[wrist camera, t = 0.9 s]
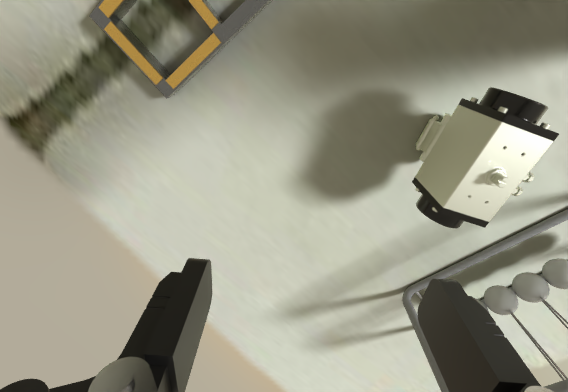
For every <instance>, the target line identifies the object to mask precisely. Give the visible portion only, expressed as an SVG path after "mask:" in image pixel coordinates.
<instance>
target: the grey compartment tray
mask: <svg viewBox="0 0 568 392" xmlns="http://www.w3.org/2000/svg"><path fill="white" fill-rule="evenodd" d="M136 1H137V0H101V2H100V3H99V4H98V5H97V7H96V8H95V9H94V10H93V12H92V13H91V14H90V15H89V16H90V17H91V18H92V19H93V20H94V21H95V23H96V24H97V25H98V26H99V27H100V28H101V29H102V30H103V31H104V32H105V33H106V34H107V35H108V36H109V37H110V39H111V40H112V41H113V42H114V43H115V44H116V45H117V46H118V47H119V48H120V49H121V50H122V51H123V52H124V53H125V54H126V56H127V57H128V58H129V59H130V60H131V61H132V62H133V63H134V64H135V65H136V66H137V67H138V68H139V69H140V70H141V71H142V73H143V74H144V75H145V76H146V77H147V78H148V79H149V80H150V81H151V82H152V83H153V84H154V85H155V86H156V87H157V88H158V90H159V91H160V92H161V93H162V94H163V95H164V96H165V97H166V98H169V97H171V96H173V95H174V94H175V93H177V92H178V91H179V90H180V89H181V88H182V87H183V86H184V85H185V84H186V83H187V82H188V81H189V80H190V79H191V78H192V77H193V76H194V75H195V74H196V73H197V72H198V71H199V70H200V69H202V68H203V67H204V66H205V65H206V64H207V63H208V62H209V61H210V60H211V59H212V58H213V57H214V56H215V55H216V54H217V53H218V52H219V51H220V50H221V49H222V48H223V47H224V46H225V45H226V44H228V43H229V42H230V41H231V40H232V39H233V38H234V37H235V36H236V35H237V34H238V33H239V32H240V31H241V30H242V29H243V28H244V27H245V26H246V25H247V24H248V23H249V22H250V21H251V20H253V19H254V18H255V17H256V16H257V15H258V14H259V13H260V12H261V11H262V10H263V9H264V8H265V7H266V6H267V5H268V4H269V3H270V2H271V1H272V0H245V1H244V2H243V3H242V4H241V5H240V6H239V7H238V8H237V9H236V10H235V11H234V12H233V13H232V14H231V15H230V16H229V17H228V18H227V19H226V20H225V21H224V22H223V21H222V20H221V19H220V17H219V16H218V15H217V13H216V12H215V11H214V10H213V8H212V7H211V6H210V4H209V3H208V2H207V0H188V1H189V2H190V3H191V5H192V6H193V7H194V8H195V10H196V11H197V12H198V14H199V15H200V16H201V17H202V19H203V20H204V21H205V22H206V24H207V25H208V26H209V27H210V29H211V30H212V31H213V33H212V34H211V35H210V36H209V37H208V38H207V39H206V40H205V41H204V42H203V43H202V44H201V45H200V46H199V47H198V48H197V49H196V50H195V51H194V52H193V53H192V54H191V55H190V56H189V57H188V58H187V59H186V60H185V61H184V62H183V63H182V64H181V65H180V66H179V67H178V68H177V69H176V70H175V71H174V72H173V73H172V74H171V75H170V74H169V73H168V72H167V70H166V69H165V68H164V67H163V66H162V65H161V64H160V63H159V62H158V60H157V59H156V58H155V57H154V56H153V55H152V54H151V53H150V52H149V50H148V49H147V48H146V47H145V46H144V45H143V44H142V43H141V42H140V40H139V39H138V38H137V37H136V36H135V35H134V34H133V33H132V32H131V31H130V29H129V28H128V27H127V26H126V25H125V24H124V23H123V22H122V21H121V19H122V18H123V16H124V15H125V14H126V13H127V12H128V11H129V9H130V8H131V7H132V6H133V5H134V4H135V2H136Z"/></svg>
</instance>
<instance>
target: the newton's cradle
mask: <svg viewBox="0 0 568 392" xmlns="http://www.w3.org/2000/svg"><path fill="white" fill-rule="evenodd" d="M566 220H568V209H566V210H564V211H562V212H560V213H558V214H556V215H554V216H552V217H550V218H548V219H546V220H544V221H542V222H540V223H538V224H536V225H534V226H532V227H529V228H527V229H525V230H523V231H521V232H519V233H517V234H515V235H513V236H511V237H509V238H507V239H505V240H503V241H501V242H499V243H497V244H495V245H493V246H491V247H489V248H487V249H485V250H483V251H480V252H478V253H476V254H474V255H472V256H470V257H468V258H466V259H464V260H462V261H460V262H458V263H456V264H454V265H452V266H450V267H448V268H446V269H444V270H442V271H440V272H438V273H436V274H434V275H432V276H429V277H427V278H425V279H423V280H421V281H419V282H417V283H415V284H413V285H411V286H410V287H408V288H407V289H406V291H405V292H404V294H403V304H404V307H405V309H406V311H407V314H408V316H409V318H410V320H411V323H412V325H413V327H414V330H415V332H416V334H417V337H418V339H419V341H420V343H421V346H422V348H423V350H424V353H425V355H426V357H427V359H428V362H429V364H430V366H431V369H432V371H433V373H434V376H435V378H436V380H437V382H438V385H439V387H440V389H441V392H449V390H448V388H447V386H446V383H445V381H444V379H443V377H442V374H441V372H440V370H439V368H438V365H437V363H436V361H435V359H434V356H433V354H432V352H431V350H430V347H429V345H428V343H427V341H426V338H425V336H424V334H423V332H422V329H421V327H420V325H419V321H418V316H417V313H416V311H415V309H414V307H413V305H412V303H411V297H412V295H413V294H414V293H416V294H417V295H418V296H419V298H420V299H421V300H422V298H423V297H422V296H421V295H420V293H419V292H418V291H420V290H422V289H424V288H426V287H428V285H429V282H430V281H431V280H432V279H445V278H447V277H449V276H451V275H453V274H455V273H457V272H460V271H462V270H464V269H466V268H468V267H470V266H472V265H474V264H476V263H478V262H480V261H482V260H485V259H487V258H489V257H491V256H493V255H495V254H497V253H499V252H501V251H503V250H505V249H508V248H510V247H512V246H514V245H516V244H518V243H520V242H522V241H524V240H526V239H528V238H530V237H533V236H535V235H537V234H539V233H541V232H543V231H545V230H547V229H549V228H551V227H553V226H555V225H558V224H560V223H562V222H564V221H566ZM546 281H547V282H548V283H549V284H551V285H552V286H554V287H557V288H560V289H568V260H565V259H552V260H550V261H548V262H546V263H545V264H544V266H543V268H542V273H541V274H539V275H537V274H534V273H528V272H526V273H521V274H518V275H517V276H516V277H515V278H514V279H513V282H512V287H510V288H507V287H504V286H499V285H497V286H492V287H489V288H488V289H487V290H486V291H485V293H484V299H482V300H478V299H475V298H474V299H475V300H476V301H477V302H479V303H480V304H481V305H482V306H483V307H484V308H485V309H486V310H487V311H488V309H487V307H488V308H489V309H490V310H491V311H493V312H495V313H497V314H500V315H509V314H511V315H512V316H513V317H514V319H515V320H516V321H517V322H518V324H519V325H520V326H521V328H522V329H523V330H524V331H525V333H526V334H527V335H528V336H529V338H530V339H531V340H532V342H533V343H534V344H535V345H536V347H537V348H538V349H539V350H540V352H541V353H542V354H543V355H544V357H545V358H546V359H547V361H548V362H549V363H550V364H551V366H552V367H553V368H554V369H555V371H556V372H557V373H558V374H559V372H558V371H557V370H556V368H555V367H554V366H553V365H552V363H553V364H554V365H555V366H556V367H557V369H558V370H559V371H560V372H561V374H562V375H563V376H564V377H565V378H566V380H564V379H563V377H562V376H561V375H560V374H559V376H560V377H561V378H562V380H563V381H560V382H557V383H554V384H551V385H548V386H545V388H547V389H550V390H552V391H554V392H568V378H567V377H566V376H565V375H564V373H563V372H562V371H561V370H560V369H559V367H558V366H557V365H556V364H555V363H554V362H553V360H552V359H551V358H550V357H549V356H548V354H547V353H546V352H545V351H544V350H543V349H542V347H541V346H540V345H539V344H538V343H537V341H536V340H535V339H534V338H533V337H532V336H531V334H530V333H529V332H528V331H527V330H526V328H525V327H524V326H523V325H522V324H521V323H520V321H519V320H518V319H517V318H516V317H515V315H514V314H513V312H515V311H516V309H517V308H518V299H517V296H518V297H520V298H521V299H523V300H525V301H528V302H541V301H542V302H543V303H544V304H545V305H546V306H547V307H548V308H549V309H550V310H551V311H552V313H553V314H554V315H555V316H556V317H557V318H558V319H559V320H560V321H561V322H562V324H563V325H564V326H565V327H566V328H567V329H568V327H567V326H566V325H565V324H564V322H563V321H562V320H561V319H560V318H559V317H558V316H557V315H556V314H555V313H554V312H553V310H554V311H555V312H556V313H557V314H558V315H559V316H560V317H561V318H562V319H563V320H564V321H565V322H566V323H567V324H568V322H567V321H566V320H565V319H564V318H563V317H562V316H561V315H560V314H559V313H558V312H557V311H556V310H555V309H553V308H552V307H551V306H550V305H549V304H548V303H547V302H546V301H545V299H546V298H547V297H548V295H549V290H550V289H549V285H548V283H547V282H546ZM516 295H517V296H516ZM488 313H489V311H488ZM533 340H534V341H535V342H534V341H533ZM537 345H538V346H539V347H540V348H539V347H538V346H537ZM541 350H542V351H543V352H544V353H545V354H546V356H547V357H548V358H549V359H550V360H551V362H552V363H551V362H550V361H549V359H548V358H547V357H546V356H545V354H544V353H543V352H542V351H541Z"/></svg>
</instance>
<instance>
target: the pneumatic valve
mask: <svg viewBox="0 0 568 392" xmlns="http://www.w3.org/2000/svg"><path fill="white" fill-rule="evenodd" d="M477 101H478V99H476V98H473V97H472V98H471V100H470V101H468V100H465V99H463V98H462V99H461V101H460V103H459V104H458V106H457V108H456V109H455V111H454V113H453V114H452V115H450V114H447V113H446V114H445V116H444V117H443V119H442V121H441V122H438V119H439V118H438V117H439V116H437V115H436V116H434V117H433V118H432V119H430V120H429V121H428V123H427V125H426V127H425V129H424V130H423V132H422V134H421V136H420V137H419V139H418V141H417V143H416V144H415V145H416V149H417V150H423V153H422V155H421V156H420V158H419V159H420V160H421V161H423V162H424V163H423V165H422V166H421V168H420V170H419V171H418V173H417V175H416V176H415V178H414V180H413V181H412V183H413V184H414V185H415V186H416V187H417V188H416V191H418V192H421V193H422V195H421V197H420V198H419V200H418V201H417V203H416V206H417V208H418V209H419V210H420V211H421V212H422V213H423V214H424V215H425V216H427V217H428V218H430V219H431V220H433V221H435V222H437V223H439V224H441V225H443V226H446V227H449V228H459V227H460V226H461V224H462V223H463V222H464V221H466V222H469V223H472V224H476V225H479V226H482V227H486V225H487V224H488V223H489V222H490V220H491V219H492V218H493V217H494V215H495V214H496V213H497V212H498V210H499V209H500V208H501V207H502V205H503V204H504V203H505V202H506V200H507V199H508V198H509V197H510V195H511V194H512V195H514V196H519V195H521V194H522V192H523V190H522V188H521V187H519V186H518V185H519V184H520V183H521V182H522V181H523V182H531V181H532V180H533V179H534V175H533V174H532V173H530V170H531V169H532V168H533V167H534V165H535V164H536V163H537V162H538V160H539V159H540V158H541V157H542V155H543V154H544V153H545V151H546V150H547V149H548V148H549V146H550V145H551V144H552V143H553V141H554V140H555V139H556V138H557V136H558V135H559V134H558V133H556V132H553V131H550V130H548V128H549V127H550V125H549V124H546V123H542V124H541V125H540V126H537V125H536V124H537V123H538V121H539V120H540V119H541V117H542V116H543V115H544V113H545V112H546V111H547V109H548V107H547V106H546V105H543V104H541V103H539V102H536V101H533V100H531V99H528V98H525V97H522V96H519V95H516V94H513V93H510V92H507V91H504V90H500V89H496V88H489V89H488V91H487V92H486V94H485V95H484V97H483V98H482V100H481V102H480V103H479V104H477ZM551 140H552V141H551Z"/></svg>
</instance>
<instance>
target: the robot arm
mask: <svg viewBox="0 0 568 392" xmlns="http://www.w3.org/2000/svg"><path fill="white" fill-rule="evenodd" d="M211 299H212V274H211V261H210V260H206V259H194V258H189V259H188V260H187V262H186V264H185V266H184V268H183V270H182V272H181V273H179V272H171V273H169V274H168V275H167V276H166V277H165V278H164V279H163V280H162V281H160V282H159V284H158V286H157V288H156V290H155V292H154V294H153V295H152V298H151V299H150V301H149V303H148V305H147V308H146V309H145V310H144V312H143V314H142V316H141V318H140V320H139V322H138V324H137V325H136V328H135V329H134V331H133V333H132V335H131V337H130V339H129V341H128V342H127V344H126V346H125V348H124V350H123V352H122V354H121V355H120V356H119V358H118V359H117V360H116V361H114V362H112V363H110V364H109V365H107V366H106V367H105V368H103V369H102V370H101V371H100V372H99V373H98V374H97V375H96V376H95V377H92V378H90V379H87V380H84V381H80V382H76V383H72V384H68V385H64V386H60V387H56V388H52V389H48V387H47V385H46V384H45V383H44V382H43V381H41V380H38V379H25V380H21V381H17V382H14V383H12V384H10V385H8V386H6V387H4V388H2V389H1V390H0V392H185V389H186V385H187V382H188V379H189V376H190V372H191V369H192V365H193V362H194V359H195V356H196V352H197V349H198V346H199V342H200V339H201V336H202V332H203V329H204V325H205V322H206V319H207V315H208V312H209V309H210V305H211ZM418 321H419V325H420V327H421V329H422V332H423V334H424V336H425V338H426V341H427V343H428V345H429V347H430V350H431V352H432V354H433V356H434V359H435V361H436V363H437V365H438V368H439V370H440V372H441V374H442V377H443V379H444V381H445V383H446V386H447V388H448V390H449V392H554V391H552V390H550V389H547V388H545V387H541V385H540V384H539V383H538V381H537V380H536V379H535V377H534V376H533V374H532V373H531V372H530V370H529V369H528V367H527V366H526V364H525V363H524V362H523V360H522V359H521V357H520V356H519V355H518V353H517V352H516V350H515V349H514V348H513V346H512V345H511V343H510V342H509V341H508V339H507V338H505V337H504V334H503V332H502V331H501V329H500V328H499V327H498V326H496V322H495V321H494V320H493V318H492V317H491V315H490V314H489V313H488V311H487V310H486V309H485V308H484V307H483V306H482V305H481V304H480V303H479V302H477V301H476V300H475V299H474V298H473V297H472V296H468V295H467V294H466V293H465V291H464V290H463V288H462V287H461V285H460V284H459V283H458V282H457V281H455V280H446V279H432V280H431V281H430V282H429V285H428V287H427V289H426V291H425V294H424V296H423V298H422V300H421V303H420V305H419V307H418Z"/></svg>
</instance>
